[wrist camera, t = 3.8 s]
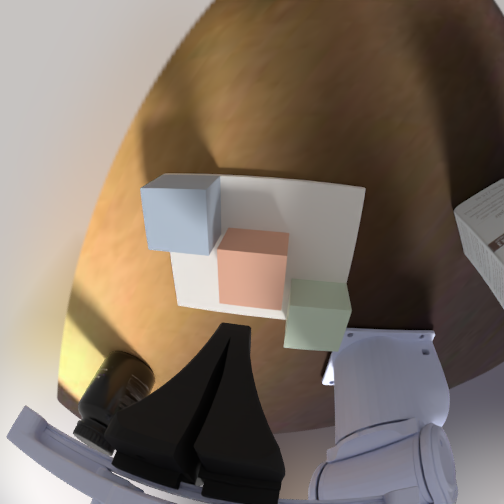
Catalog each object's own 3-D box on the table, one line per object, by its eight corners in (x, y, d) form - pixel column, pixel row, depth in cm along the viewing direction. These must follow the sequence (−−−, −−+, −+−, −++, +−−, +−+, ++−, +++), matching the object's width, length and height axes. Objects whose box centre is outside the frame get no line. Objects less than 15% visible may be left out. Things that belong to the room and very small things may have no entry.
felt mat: (364, 187, 16) (365, 189, 16) (335, 320, 22) (335, 323, 21) (164, 173, 18) (162, 174, 18) (179, 302, 23) (178, 305, 23)
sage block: (346, 283, 19) (352, 310, 17) (335, 323, 21) (338, 351, 19) (291, 278, 20) (289, 305, 17) (286, 319, 22) (283, 347, 19)
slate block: (220, 175, 17) (206, 189, 14) (221, 233, 19) (208, 255, 16) (162, 174, 18) (140, 188, 15) (167, 229, 19) (148, 249, 17)
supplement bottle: (103, 341, 29) (55, 418, 18) (154, 361, 29) (112, 449, 18) (113, 372, 32) (76, 441, 22) (158, 390, 32) (126, 466, 22)
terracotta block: (289, 232, 18) (287, 255, 16) (284, 283, 20) (281, 310, 18) (228, 227, 19) (216, 249, 16) (229, 277, 21) (219, 303, 18)
